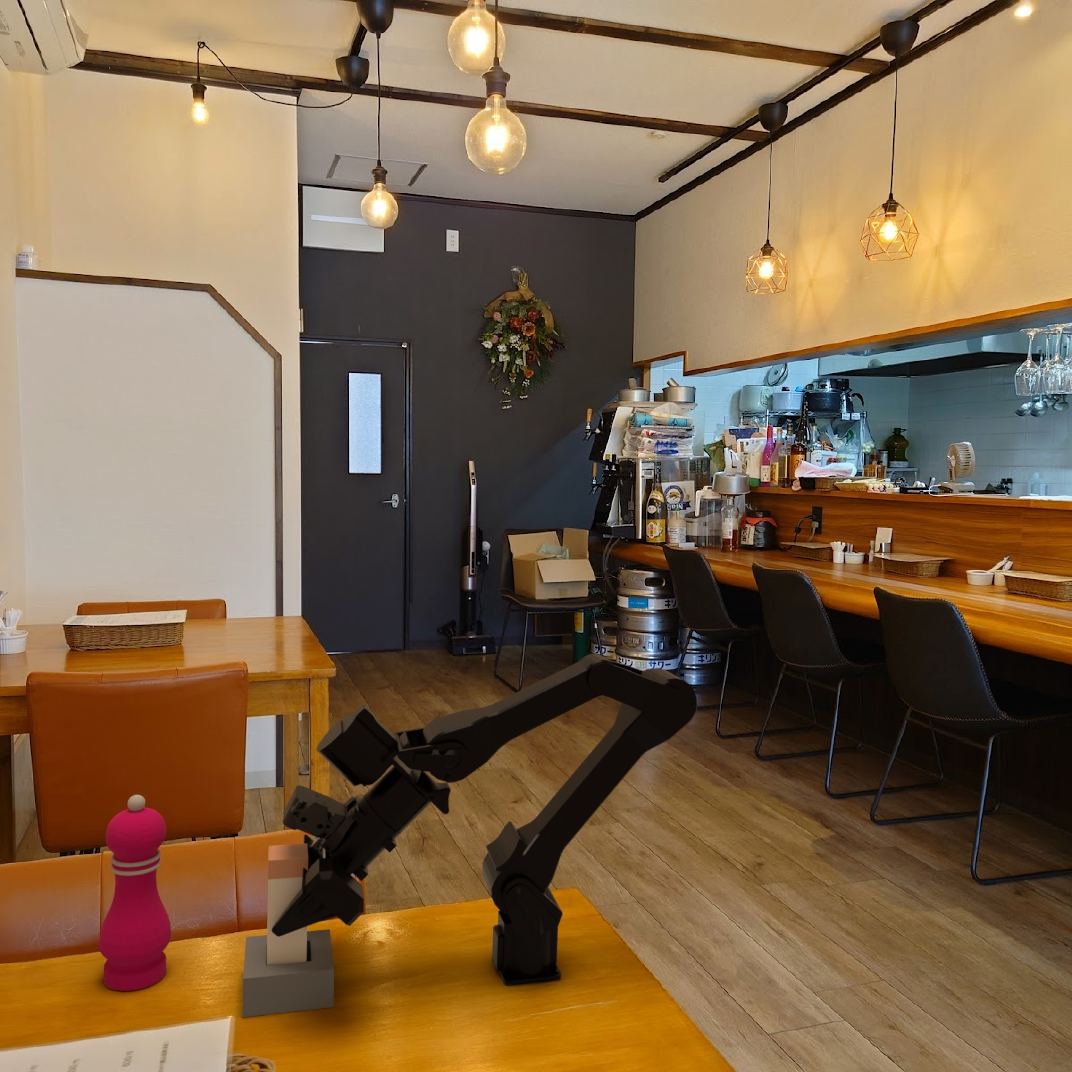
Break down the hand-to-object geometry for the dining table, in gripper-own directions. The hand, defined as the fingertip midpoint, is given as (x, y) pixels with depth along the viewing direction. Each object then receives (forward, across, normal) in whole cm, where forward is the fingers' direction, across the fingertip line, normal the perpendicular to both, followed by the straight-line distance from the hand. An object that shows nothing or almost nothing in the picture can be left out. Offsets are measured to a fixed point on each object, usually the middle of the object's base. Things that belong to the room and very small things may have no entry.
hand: (275, 920), depth 101 cm
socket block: (+4, 0, +6) cm, 8 cm away
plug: (+5, 0, +6) cm, 8 cm away
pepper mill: (+16, -6, -5) cm, 18 cm away
